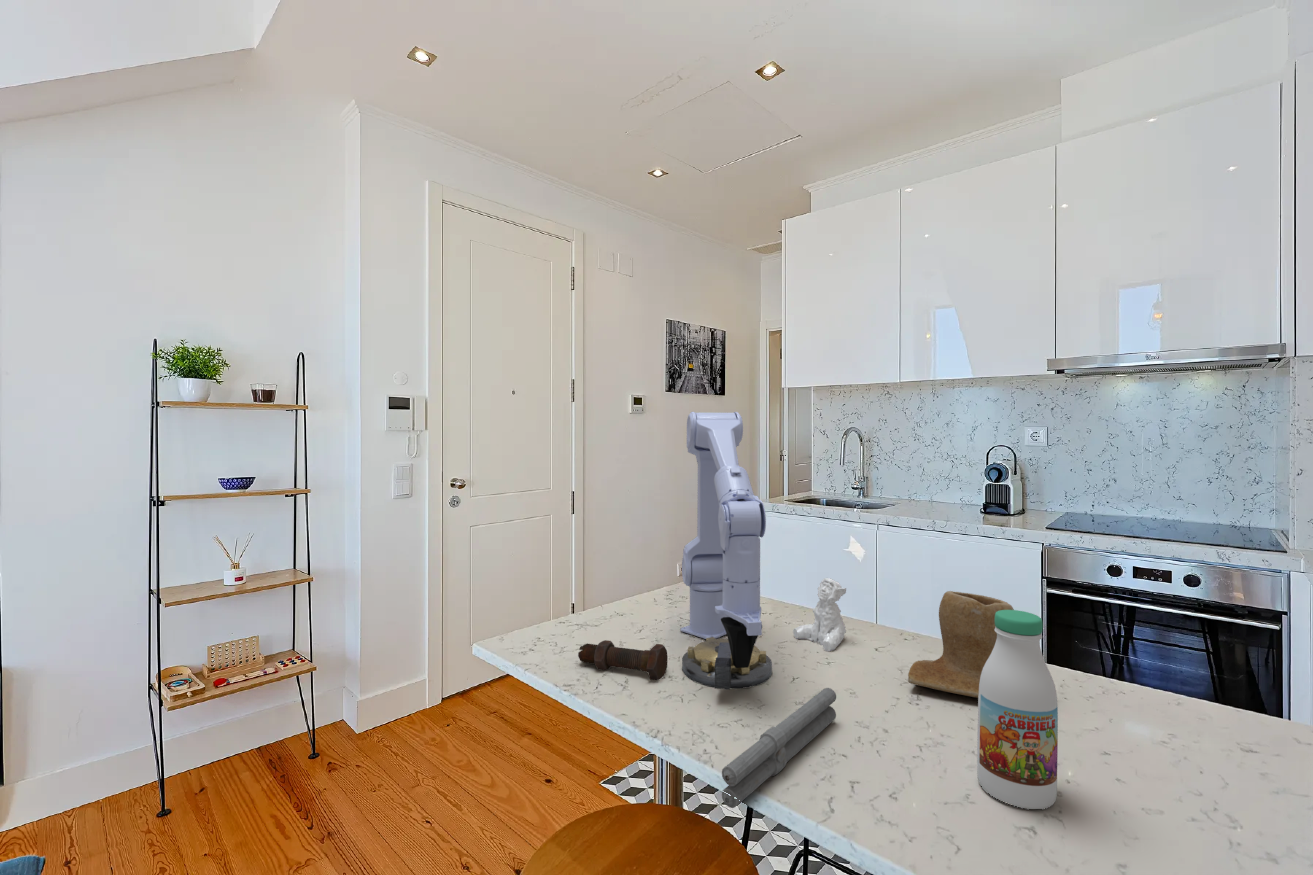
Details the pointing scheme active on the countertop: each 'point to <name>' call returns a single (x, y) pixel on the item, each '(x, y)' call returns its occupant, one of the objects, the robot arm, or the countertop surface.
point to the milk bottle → (1018, 716)
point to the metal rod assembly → (777, 747)
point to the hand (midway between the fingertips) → (741, 666)
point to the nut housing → (737, 680)
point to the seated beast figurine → (825, 617)
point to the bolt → (626, 658)
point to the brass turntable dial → (721, 660)
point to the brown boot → (961, 644)
